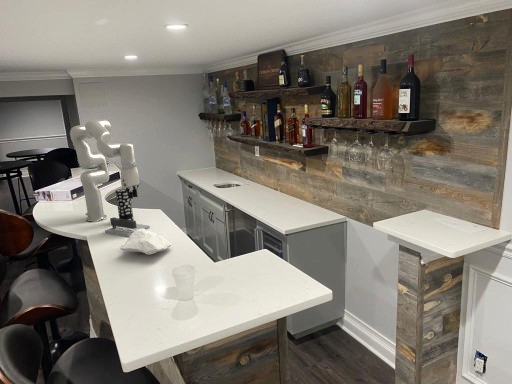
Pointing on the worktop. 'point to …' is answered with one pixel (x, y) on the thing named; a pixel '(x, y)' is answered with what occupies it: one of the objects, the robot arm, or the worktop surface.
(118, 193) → the white-spotted black cylinder
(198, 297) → the worktop surface
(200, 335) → the worktop surface
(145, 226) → the label panel
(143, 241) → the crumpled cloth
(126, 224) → the swing arm
